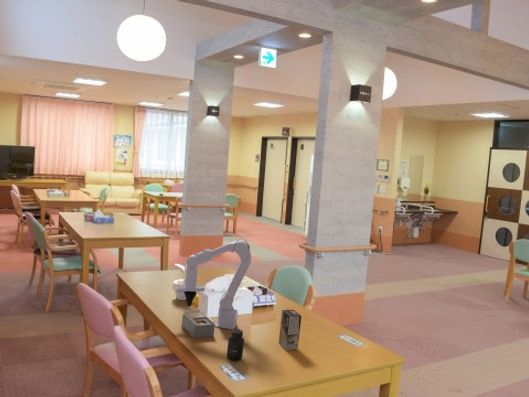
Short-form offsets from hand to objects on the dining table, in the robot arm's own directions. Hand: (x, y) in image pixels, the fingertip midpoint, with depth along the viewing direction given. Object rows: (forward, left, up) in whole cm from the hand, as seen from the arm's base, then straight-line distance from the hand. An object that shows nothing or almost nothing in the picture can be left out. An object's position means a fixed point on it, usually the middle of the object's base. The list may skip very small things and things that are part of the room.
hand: (188, 305), depth 246 cm
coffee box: (-52, +10, -8) cm, 54 cm away
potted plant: (+15, -34, -8) cm, 38 cm away
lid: (-6, +7, -2) cm, 9 cm away
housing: (-8, +10, -8) cm, 15 cm away
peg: (-11, +13, -8) cm, 19 cm away
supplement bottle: (-32, +33, -8) cm, 47 cm away
